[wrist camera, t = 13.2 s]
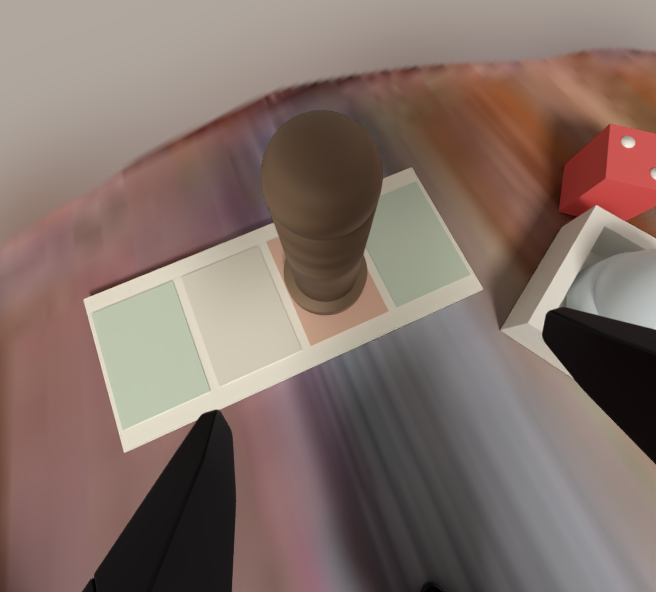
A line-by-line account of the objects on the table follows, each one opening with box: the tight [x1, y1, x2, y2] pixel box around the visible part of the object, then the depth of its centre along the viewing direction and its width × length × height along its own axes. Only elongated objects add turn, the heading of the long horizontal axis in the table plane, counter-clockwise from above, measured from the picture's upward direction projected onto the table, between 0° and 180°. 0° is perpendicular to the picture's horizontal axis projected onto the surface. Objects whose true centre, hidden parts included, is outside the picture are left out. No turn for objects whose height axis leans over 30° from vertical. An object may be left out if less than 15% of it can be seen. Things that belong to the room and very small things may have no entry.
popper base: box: [500, 205, 656, 379], centre depth 19 cm, size 9×9×3 cm
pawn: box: [261, 110, 383, 315], centre depth 15 cm, size 5×5×13 cm
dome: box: [566, 249, 656, 330], centre depth 17 cm, size 6×6×6 cm
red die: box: [559, 124, 656, 221], centre depth 21 cm, size 4×4×4 cm
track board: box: [83, 167, 483, 453], centre depth 21 cm, size 24×10×1 cm, turn 114°
